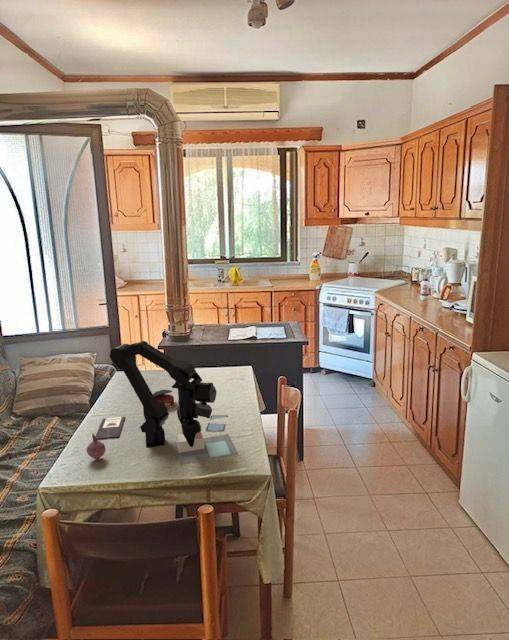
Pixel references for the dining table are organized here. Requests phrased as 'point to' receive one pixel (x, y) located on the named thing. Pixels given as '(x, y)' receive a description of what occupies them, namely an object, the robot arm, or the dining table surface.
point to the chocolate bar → (110, 428)
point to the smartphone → (214, 426)
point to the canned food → (164, 397)
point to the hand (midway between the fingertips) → (189, 440)
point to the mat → (209, 450)
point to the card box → (184, 445)
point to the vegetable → (96, 448)
